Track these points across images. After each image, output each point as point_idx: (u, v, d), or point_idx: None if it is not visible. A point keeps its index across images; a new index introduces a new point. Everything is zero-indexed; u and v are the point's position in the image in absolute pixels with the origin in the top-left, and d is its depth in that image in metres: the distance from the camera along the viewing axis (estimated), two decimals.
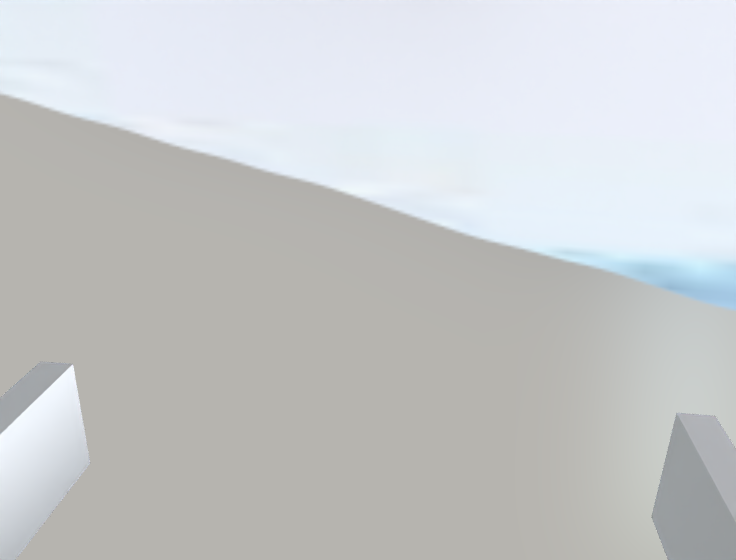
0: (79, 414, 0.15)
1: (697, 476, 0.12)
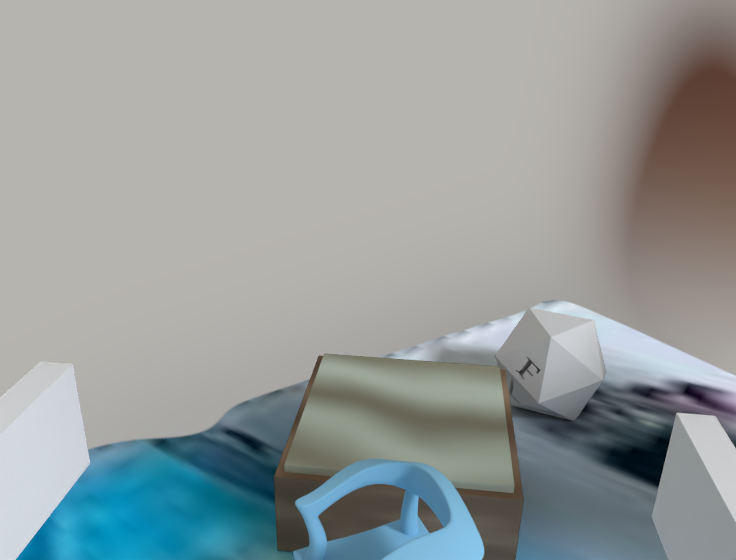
0: (79, 414, 0.15)
1: (697, 475, 0.12)
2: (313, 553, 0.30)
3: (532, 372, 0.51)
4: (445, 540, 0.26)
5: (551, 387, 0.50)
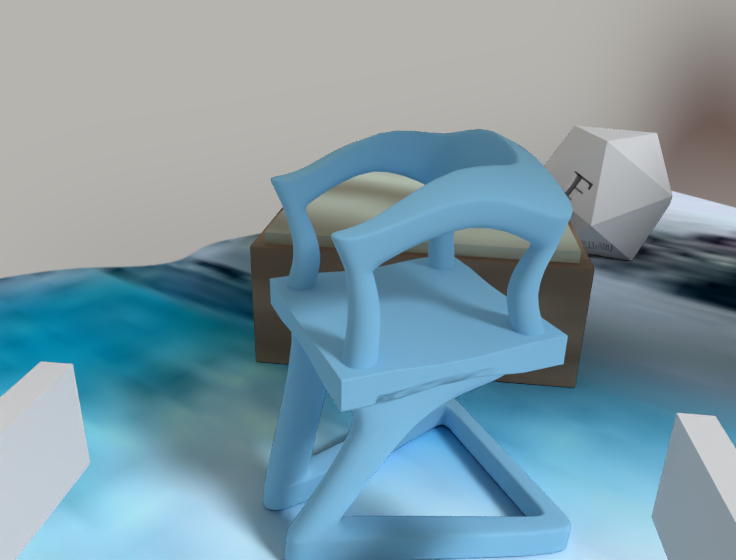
0: (80, 414, 0.15)
1: (696, 475, 0.12)
2: (299, 268, 0.20)
3: (582, 189, 0.40)
4: (512, 177, 0.16)
5: (607, 205, 0.40)
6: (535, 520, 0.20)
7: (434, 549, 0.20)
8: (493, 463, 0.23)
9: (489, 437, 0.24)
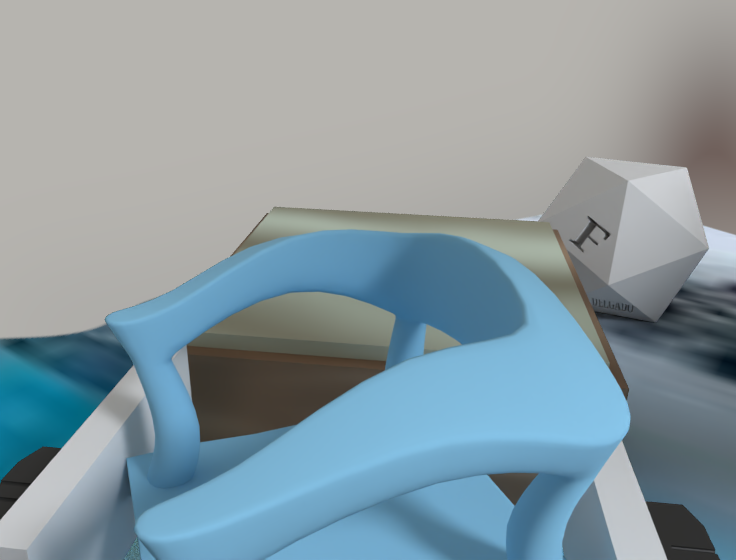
0: (188, 389, 0.16)
1: None
2: (162, 456, 0.12)
3: (597, 239, 0.33)
4: (517, 367, 0.08)
5: (628, 260, 0.32)
6: None
7: None
8: None
9: None
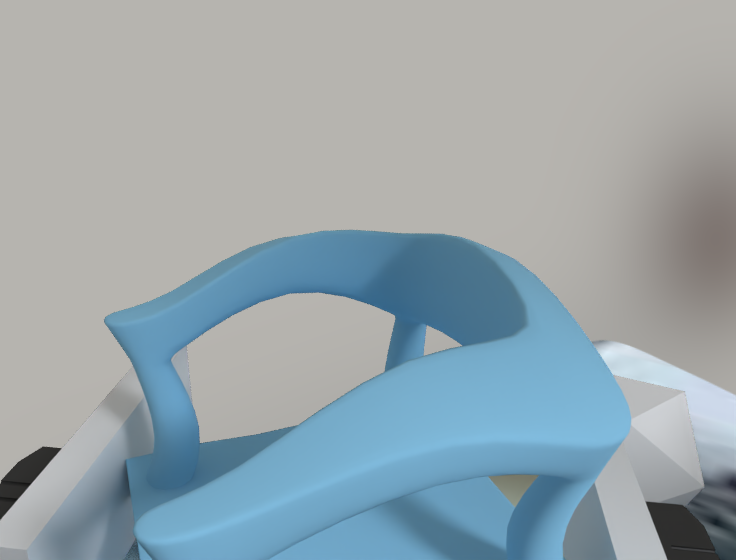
0: (188, 389, 0.16)
1: None
2: (162, 457, 0.12)
3: None
4: (517, 368, 0.08)
5: None
6: None
7: None
8: None
9: None
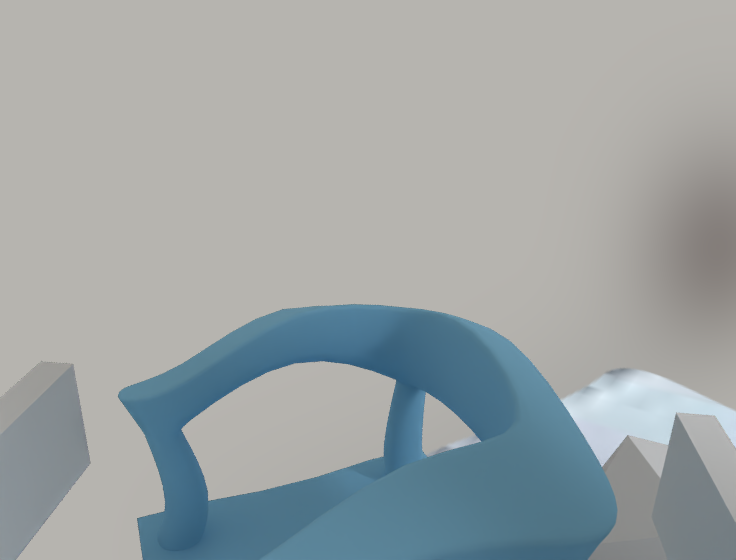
0: (80, 414, 0.15)
1: (696, 475, 0.12)
2: (172, 521, 0.13)
3: None
4: (509, 469, 0.09)
5: None
6: None
7: None
8: None
9: None
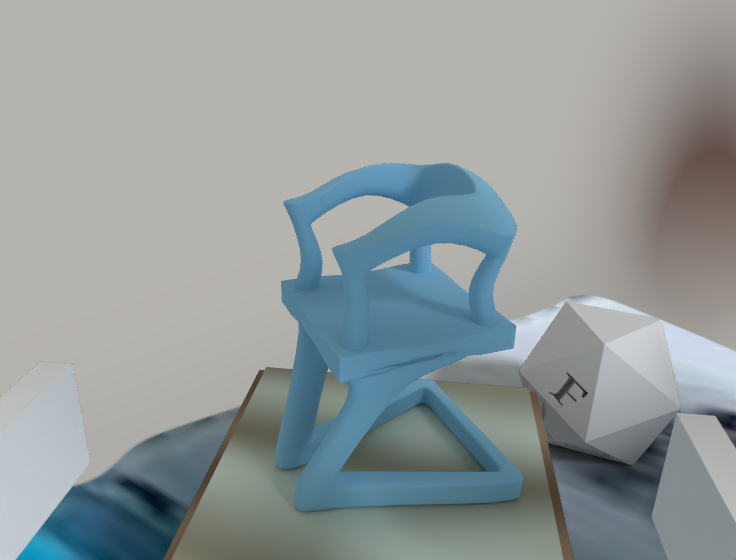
0: (79, 414, 0.15)
1: (697, 476, 0.12)
2: (305, 272, 0.25)
3: (575, 396, 0.34)
4: (469, 204, 0.21)
5: (604, 419, 0.34)
6: (494, 473, 0.25)
7: (413, 496, 0.24)
8: (463, 433, 0.28)
9: (461, 411, 0.29)
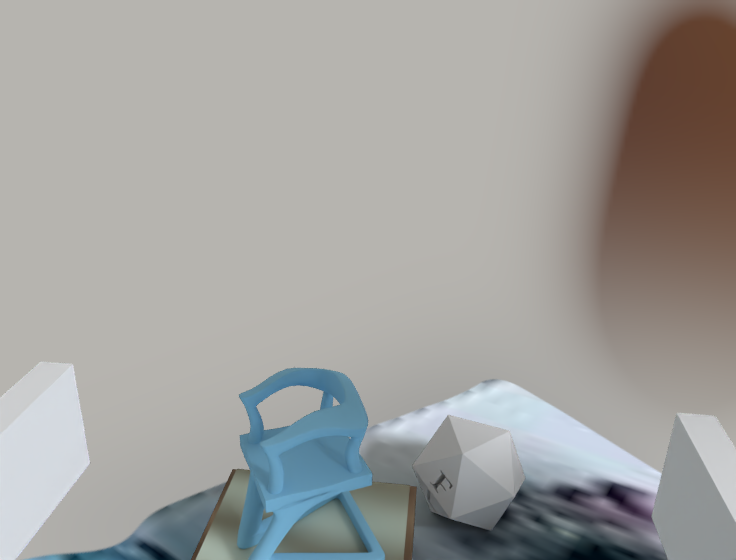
0: (79, 414, 0.15)
1: (697, 475, 0.12)
2: (253, 434, 0.41)
3: (445, 487, 0.51)
4: (339, 412, 0.37)
5: (463, 503, 0.50)
6: (367, 554, 0.42)
7: None
8: (356, 523, 0.44)
9: (357, 508, 0.45)
